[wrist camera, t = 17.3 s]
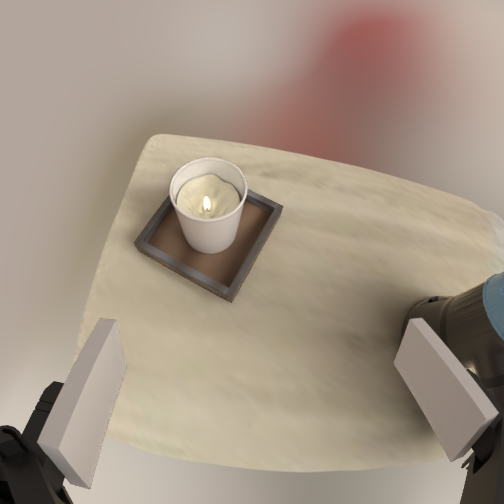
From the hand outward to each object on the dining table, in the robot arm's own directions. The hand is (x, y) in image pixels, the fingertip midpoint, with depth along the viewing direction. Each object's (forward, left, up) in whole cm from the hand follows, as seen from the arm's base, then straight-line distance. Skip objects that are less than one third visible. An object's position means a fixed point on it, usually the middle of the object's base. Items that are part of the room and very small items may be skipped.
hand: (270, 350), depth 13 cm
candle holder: (+14, -17, -31) cm, 38 cm away
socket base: (+14, -17, -32) cm, 38 cm away
